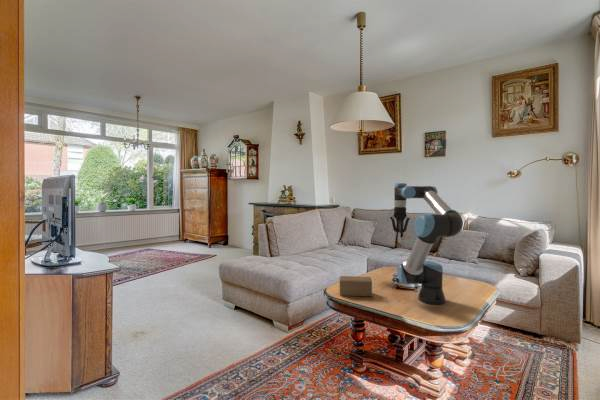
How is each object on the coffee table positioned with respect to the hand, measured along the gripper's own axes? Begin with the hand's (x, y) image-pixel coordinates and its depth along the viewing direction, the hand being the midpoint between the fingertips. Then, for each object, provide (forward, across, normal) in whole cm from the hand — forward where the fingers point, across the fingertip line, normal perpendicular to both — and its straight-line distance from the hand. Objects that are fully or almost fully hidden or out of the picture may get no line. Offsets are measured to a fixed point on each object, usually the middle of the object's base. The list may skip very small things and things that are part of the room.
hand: (399, 242), depth 207 cm
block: (+27, +11, +19) cm, 35 cm away
